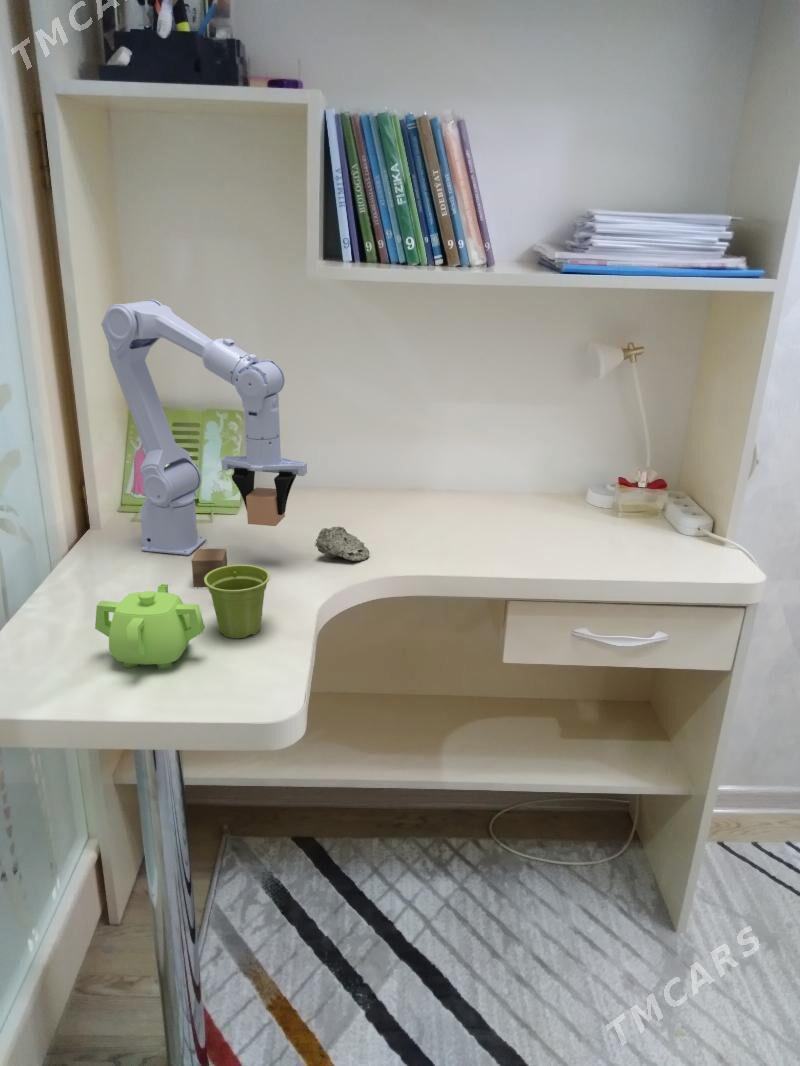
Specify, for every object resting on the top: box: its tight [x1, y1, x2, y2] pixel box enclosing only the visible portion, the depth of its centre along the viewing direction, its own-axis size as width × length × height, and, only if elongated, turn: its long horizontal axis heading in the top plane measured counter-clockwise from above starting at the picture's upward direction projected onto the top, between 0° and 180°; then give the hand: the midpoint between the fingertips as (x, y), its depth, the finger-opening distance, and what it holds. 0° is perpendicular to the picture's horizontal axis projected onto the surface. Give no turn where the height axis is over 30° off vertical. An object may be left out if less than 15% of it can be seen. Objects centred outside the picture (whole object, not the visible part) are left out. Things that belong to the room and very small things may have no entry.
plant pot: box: [204, 564, 271, 639], centre depth 122 cm, size 9×9×9 cm
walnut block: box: [191, 548, 228, 589], centre depth 138 cm, size 5×5×5 cm
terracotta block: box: [246, 486, 286, 527], centre depth 142 cm, size 5×5×5 cm
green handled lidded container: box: [94, 583, 206, 670], centre depth 114 cm, size 12×12×10 cm
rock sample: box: [314, 525, 370, 562], centre depth 150 cm, size 10×8×9 cm
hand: (266, 511), depth 143 cm, fingers closed on terracotta block, 5 cm apart
